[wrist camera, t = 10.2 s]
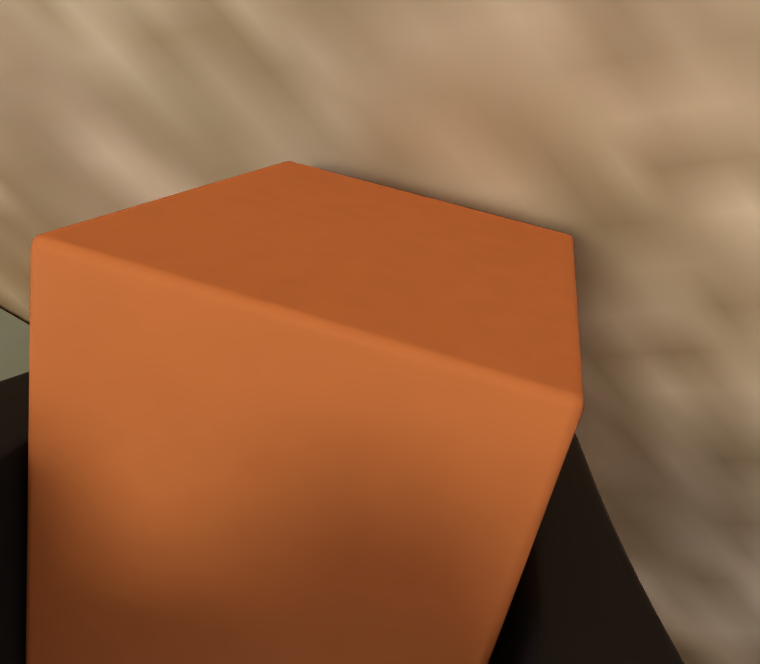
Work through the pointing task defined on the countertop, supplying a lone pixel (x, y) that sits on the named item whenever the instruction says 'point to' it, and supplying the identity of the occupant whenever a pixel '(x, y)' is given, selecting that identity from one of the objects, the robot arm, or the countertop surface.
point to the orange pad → (292, 424)
